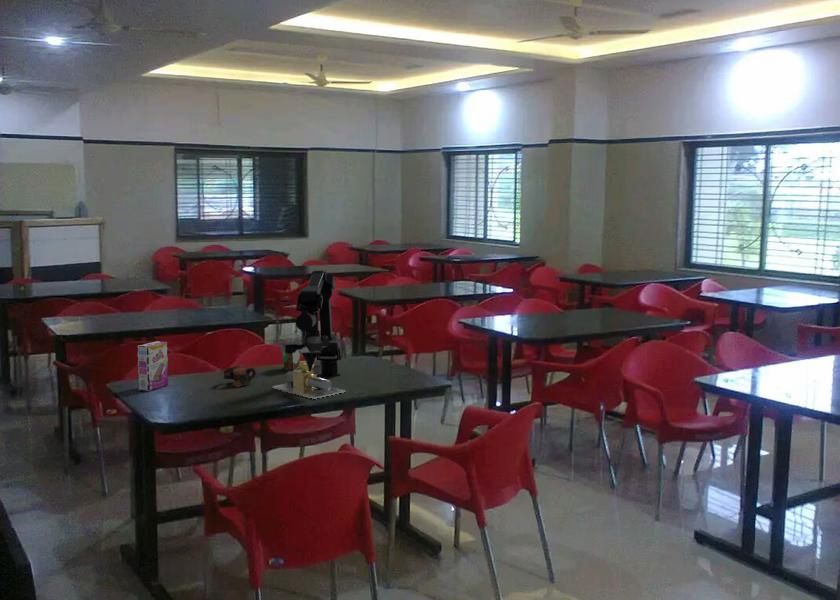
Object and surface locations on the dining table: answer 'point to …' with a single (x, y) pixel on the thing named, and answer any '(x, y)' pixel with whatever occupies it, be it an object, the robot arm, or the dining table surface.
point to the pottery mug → (240, 375)
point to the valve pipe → (307, 385)
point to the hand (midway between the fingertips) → (309, 371)
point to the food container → (291, 360)
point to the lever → (315, 368)
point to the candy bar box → (152, 365)
